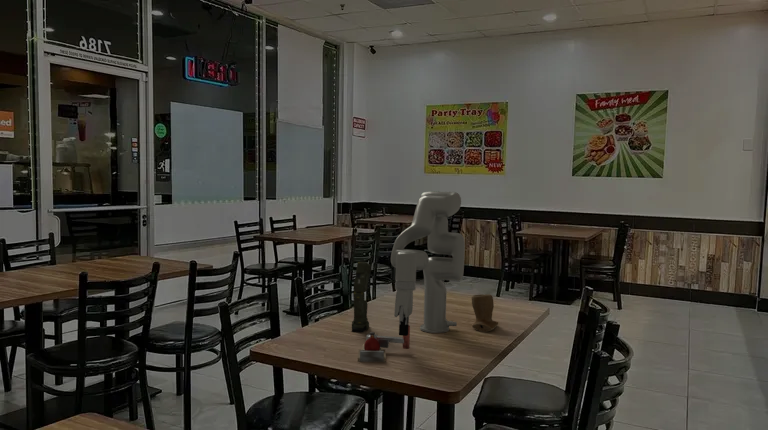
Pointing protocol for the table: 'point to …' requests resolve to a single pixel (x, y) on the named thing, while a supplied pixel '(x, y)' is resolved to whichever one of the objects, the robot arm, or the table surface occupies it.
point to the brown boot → (483, 312)
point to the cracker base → (371, 354)
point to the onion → (372, 344)
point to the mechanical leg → (360, 297)
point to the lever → (392, 340)
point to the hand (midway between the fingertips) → (403, 335)
